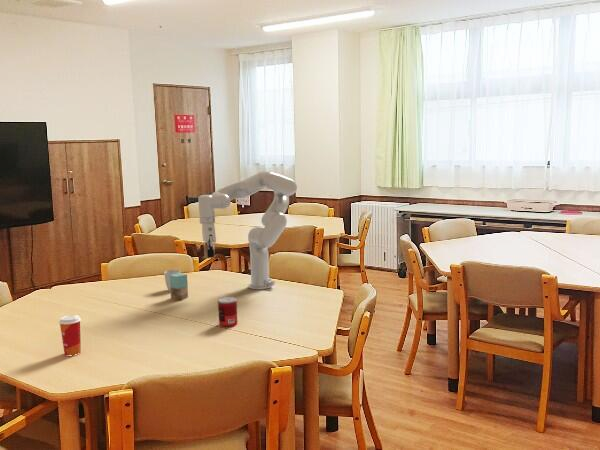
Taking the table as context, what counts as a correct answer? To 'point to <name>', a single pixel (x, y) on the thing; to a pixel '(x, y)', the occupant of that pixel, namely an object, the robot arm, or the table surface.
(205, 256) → the drum
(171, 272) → the cup
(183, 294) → the tower bottom
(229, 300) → the canned food
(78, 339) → the paper cup
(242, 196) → the robot arm
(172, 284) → the tower top
